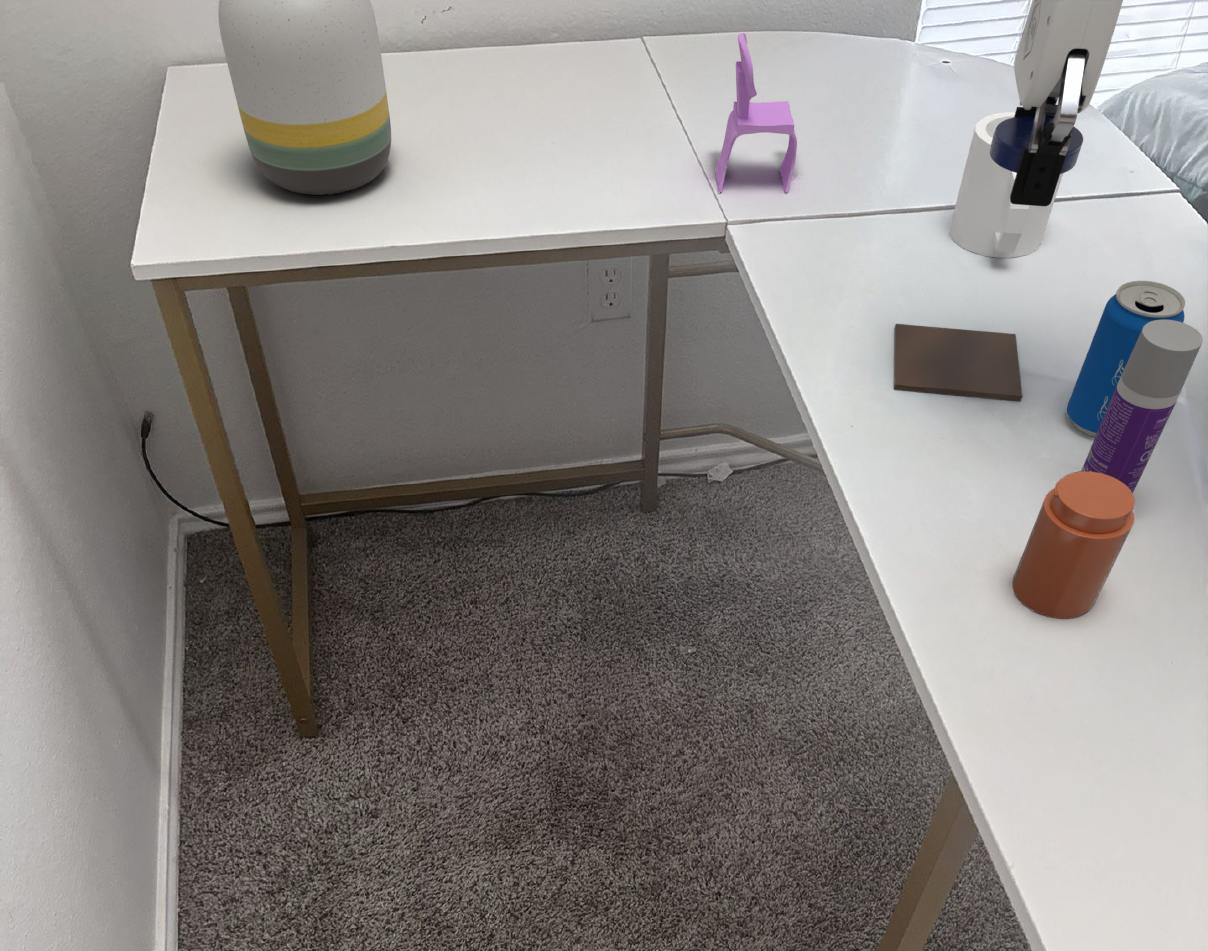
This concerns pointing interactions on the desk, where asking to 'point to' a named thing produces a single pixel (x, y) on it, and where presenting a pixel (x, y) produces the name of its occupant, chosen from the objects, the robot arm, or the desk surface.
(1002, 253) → the mug
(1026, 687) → the desk surface
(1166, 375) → the container
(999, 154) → the jar lid
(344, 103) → the vase
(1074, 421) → the beverage can
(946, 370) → the coaster
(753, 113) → the toy chair
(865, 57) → the desk surface
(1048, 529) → the jar
